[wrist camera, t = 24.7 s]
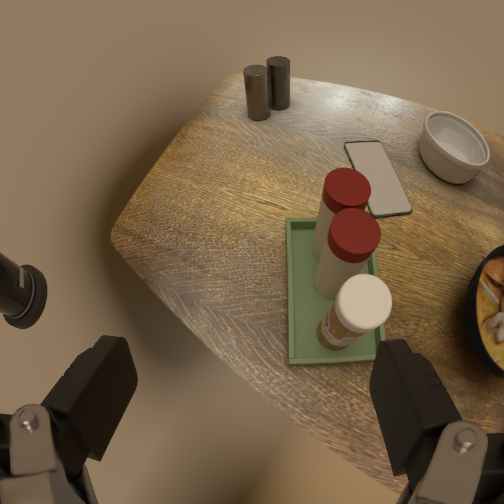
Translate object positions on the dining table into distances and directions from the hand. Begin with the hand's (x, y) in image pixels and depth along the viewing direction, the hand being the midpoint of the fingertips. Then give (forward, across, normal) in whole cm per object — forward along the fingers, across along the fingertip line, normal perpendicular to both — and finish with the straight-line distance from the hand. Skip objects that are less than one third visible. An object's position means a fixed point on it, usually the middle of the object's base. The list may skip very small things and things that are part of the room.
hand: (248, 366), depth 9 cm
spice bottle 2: (+27, -8, +10) cm, 30 cm away
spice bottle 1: (+30, -8, +6) cm, 32 cm away
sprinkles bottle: (+23, -8, +14) cm, 28 cm away
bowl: (+22, -32, +16) cm, 42 cm away
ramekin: (+43, -33, -5) cm, 54 cm away
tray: (+27, -8, +11) cm, 30 cm away
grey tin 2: (+53, -2, -15) cm, 55 cm away
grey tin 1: (+50, +2, -13) cm, 52 cm away
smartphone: (+40, -17, -2) cm, 43 cm away
